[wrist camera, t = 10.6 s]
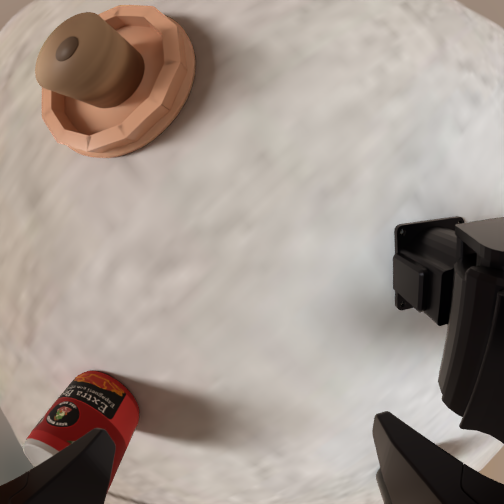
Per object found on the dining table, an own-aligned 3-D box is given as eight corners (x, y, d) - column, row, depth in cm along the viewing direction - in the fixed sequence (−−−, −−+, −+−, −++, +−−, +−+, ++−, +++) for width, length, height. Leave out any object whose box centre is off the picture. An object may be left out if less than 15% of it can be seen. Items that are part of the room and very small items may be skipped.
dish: (187, -2, 15) (180, -20, 12) (206, 134, 18) (198, 127, 15) (58, 50, 16) (41, 41, 13) (62, 176, 18) (41, 177, 16)
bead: (143, 38, 15) (105, -2, 9) (147, 95, 16) (103, 66, 10) (85, 61, 15) (38, 36, 9) (86, 117, 17) (32, 103, 11)
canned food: (130, 373, 22) (77, 464, 12) (150, 431, 24) (118, 513, 14) (66, 362, 23) (6, 430, 12) (90, 418, 25) (49, 485, 14)
